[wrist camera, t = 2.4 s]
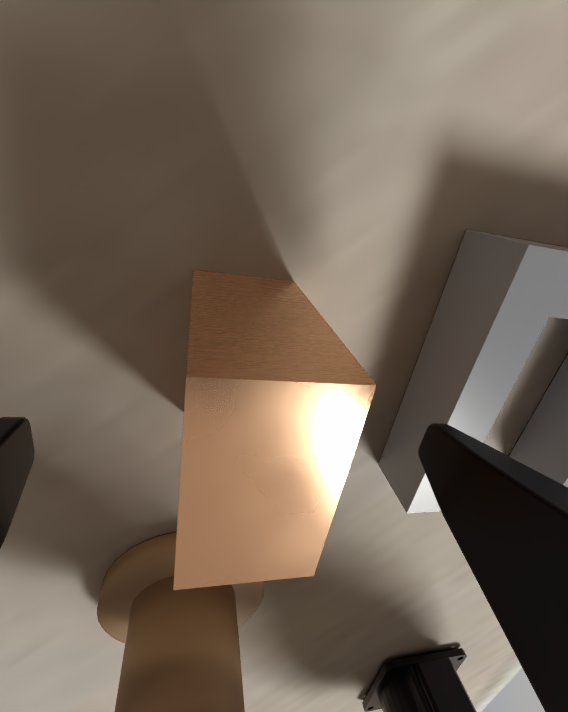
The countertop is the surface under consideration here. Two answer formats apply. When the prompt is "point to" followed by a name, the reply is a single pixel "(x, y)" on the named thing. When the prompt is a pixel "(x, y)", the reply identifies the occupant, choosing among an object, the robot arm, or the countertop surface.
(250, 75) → the countertop surface
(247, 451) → the orange tan block
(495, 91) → the countertop surface
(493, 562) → the robot arm
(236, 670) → the knob
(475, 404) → the grey u-shaped frame
